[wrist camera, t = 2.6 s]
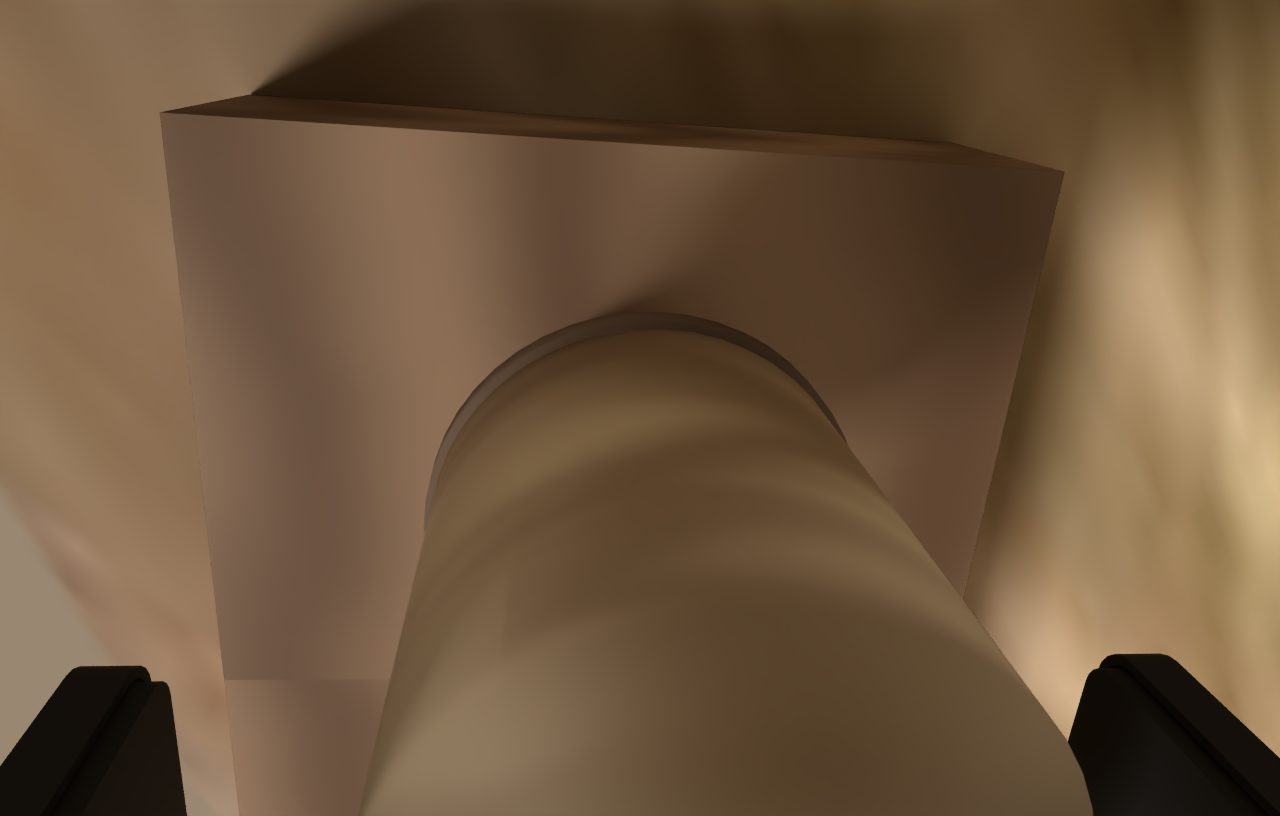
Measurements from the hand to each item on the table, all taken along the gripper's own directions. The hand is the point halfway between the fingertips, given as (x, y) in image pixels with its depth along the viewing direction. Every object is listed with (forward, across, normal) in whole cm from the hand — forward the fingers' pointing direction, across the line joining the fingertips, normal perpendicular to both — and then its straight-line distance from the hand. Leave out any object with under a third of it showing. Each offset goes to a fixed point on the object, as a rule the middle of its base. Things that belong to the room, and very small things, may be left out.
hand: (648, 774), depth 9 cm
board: (+14, -1, +5) cm, 15 cm away
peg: (+9, -1, 0) cm, 9 cm away
